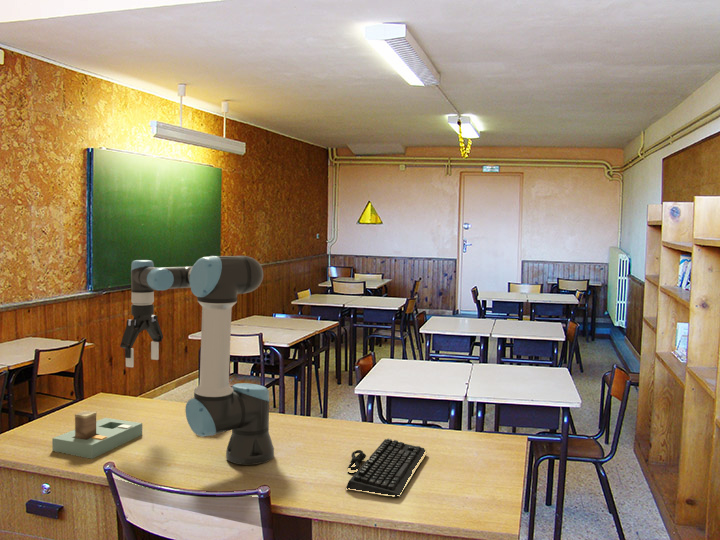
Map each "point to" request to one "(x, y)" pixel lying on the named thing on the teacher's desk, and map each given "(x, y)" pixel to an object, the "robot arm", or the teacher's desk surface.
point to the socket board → (97, 444)
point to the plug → (85, 425)
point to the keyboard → (385, 467)
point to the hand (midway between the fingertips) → (142, 363)
